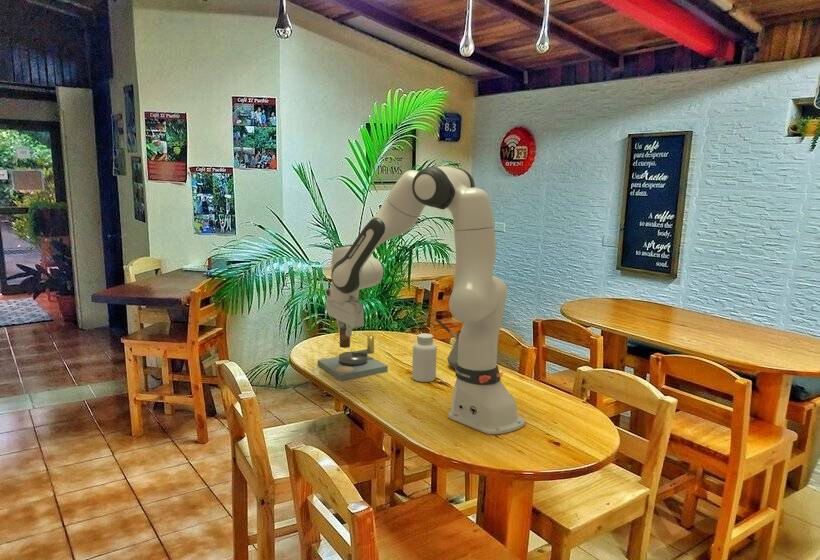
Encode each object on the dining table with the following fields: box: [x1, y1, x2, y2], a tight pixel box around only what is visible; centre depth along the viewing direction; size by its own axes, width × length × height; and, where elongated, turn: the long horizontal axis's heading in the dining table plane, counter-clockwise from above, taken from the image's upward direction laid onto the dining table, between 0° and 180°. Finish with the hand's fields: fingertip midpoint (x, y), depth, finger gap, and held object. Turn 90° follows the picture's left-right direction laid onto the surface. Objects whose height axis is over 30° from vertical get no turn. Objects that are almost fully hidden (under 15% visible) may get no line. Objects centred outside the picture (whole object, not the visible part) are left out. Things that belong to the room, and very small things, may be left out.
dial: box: [338, 335, 375, 366], centre depth 200 cm, size 10×13×8 cm
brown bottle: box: [339, 323, 351, 349], centre depth 189 cm, size 3×3×9 cm
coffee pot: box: [432, 318, 462, 370], centre depth 204 cm, size 21×12×15 cm, turn 40°
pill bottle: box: [411, 332, 438, 383], centre depth 189 cm, size 8×8×15 cm
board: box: [317, 355, 389, 382], centre depth 198 cm, size 18×18×2 cm
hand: (344, 334), depth 189 cm, fingers closed on brown bottle, 3 cm apart
